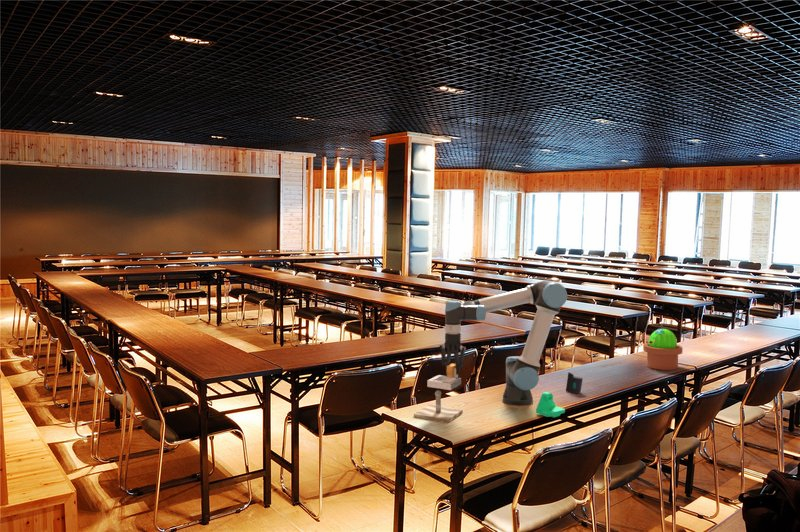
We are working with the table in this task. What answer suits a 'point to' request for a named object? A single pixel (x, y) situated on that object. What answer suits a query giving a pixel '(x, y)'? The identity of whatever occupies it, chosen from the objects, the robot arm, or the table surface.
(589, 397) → the table surface
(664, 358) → the potted cactus
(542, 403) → the camera mount
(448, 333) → the robot arm
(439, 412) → the board
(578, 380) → the speaker
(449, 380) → the square frame with handle
